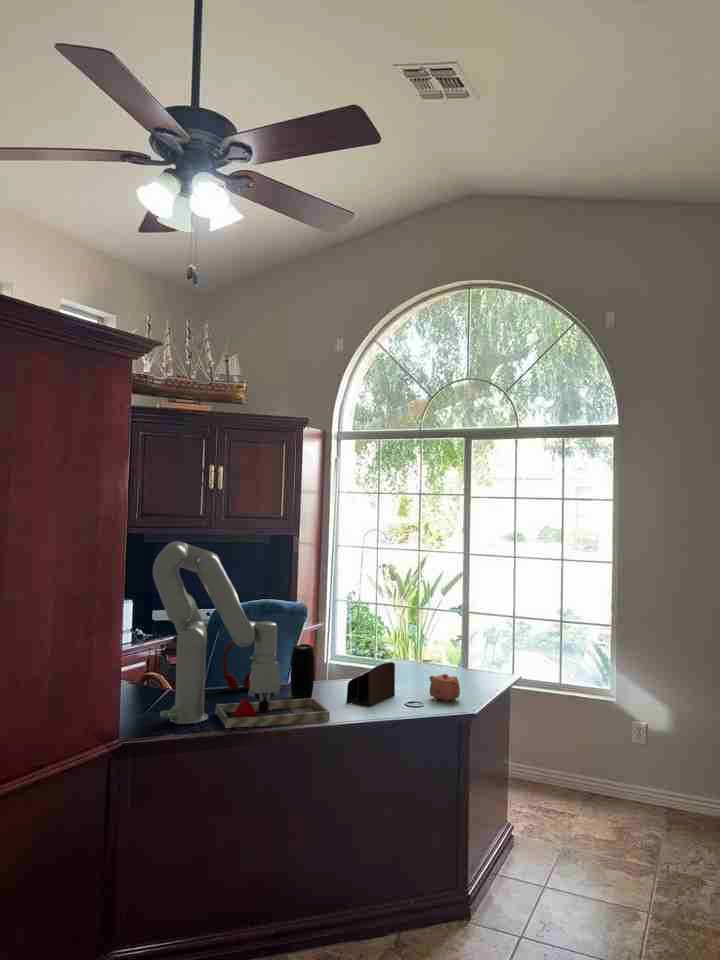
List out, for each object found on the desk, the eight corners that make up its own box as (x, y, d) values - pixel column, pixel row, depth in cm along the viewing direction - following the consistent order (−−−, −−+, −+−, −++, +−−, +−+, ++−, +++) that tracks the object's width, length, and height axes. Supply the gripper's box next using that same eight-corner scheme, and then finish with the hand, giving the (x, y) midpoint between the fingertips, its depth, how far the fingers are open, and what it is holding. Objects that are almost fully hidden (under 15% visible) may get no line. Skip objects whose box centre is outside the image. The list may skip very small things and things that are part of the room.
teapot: (430, 703, 279) (430, 677, 279) (428, 695, 291) (429, 670, 291) (461, 704, 278) (461, 679, 278) (458, 696, 290) (459, 671, 290)
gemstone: (234, 726, 240) (259, 708, 246) (219, 708, 245) (243, 692, 251) (236, 742, 246) (260, 724, 251) (220, 724, 250) (245, 708, 256)
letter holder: (394, 696, 288) (396, 659, 288) (369, 708, 271) (370, 669, 271) (372, 692, 293) (373, 656, 293) (346, 703, 276) (347, 665, 276)
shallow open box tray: (225, 729, 241) (226, 718, 241) (215, 713, 257) (215, 703, 257) (329, 720, 254) (329, 709, 254) (313, 706, 270) (313, 696, 270)
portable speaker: (287, 700, 277) (288, 647, 278) (294, 693, 286) (296, 642, 287) (309, 702, 275) (310, 649, 276) (316, 695, 284) (317, 644, 285)
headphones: (224, 694, 283) (226, 641, 283) (219, 689, 289) (221, 638, 289) (261, 690, 289) (263, 639, 290) (255, 686, 296) (257, 635, 296)
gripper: (246, 661, 248) (244, 717, 248) (289, 659, 253) (287, 713, 253) (241, 657, 255) (239, 711, 255) (283, 655, 260) (281, 707, 260)
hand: (263, 712), depth 254 cm, fingers closed
